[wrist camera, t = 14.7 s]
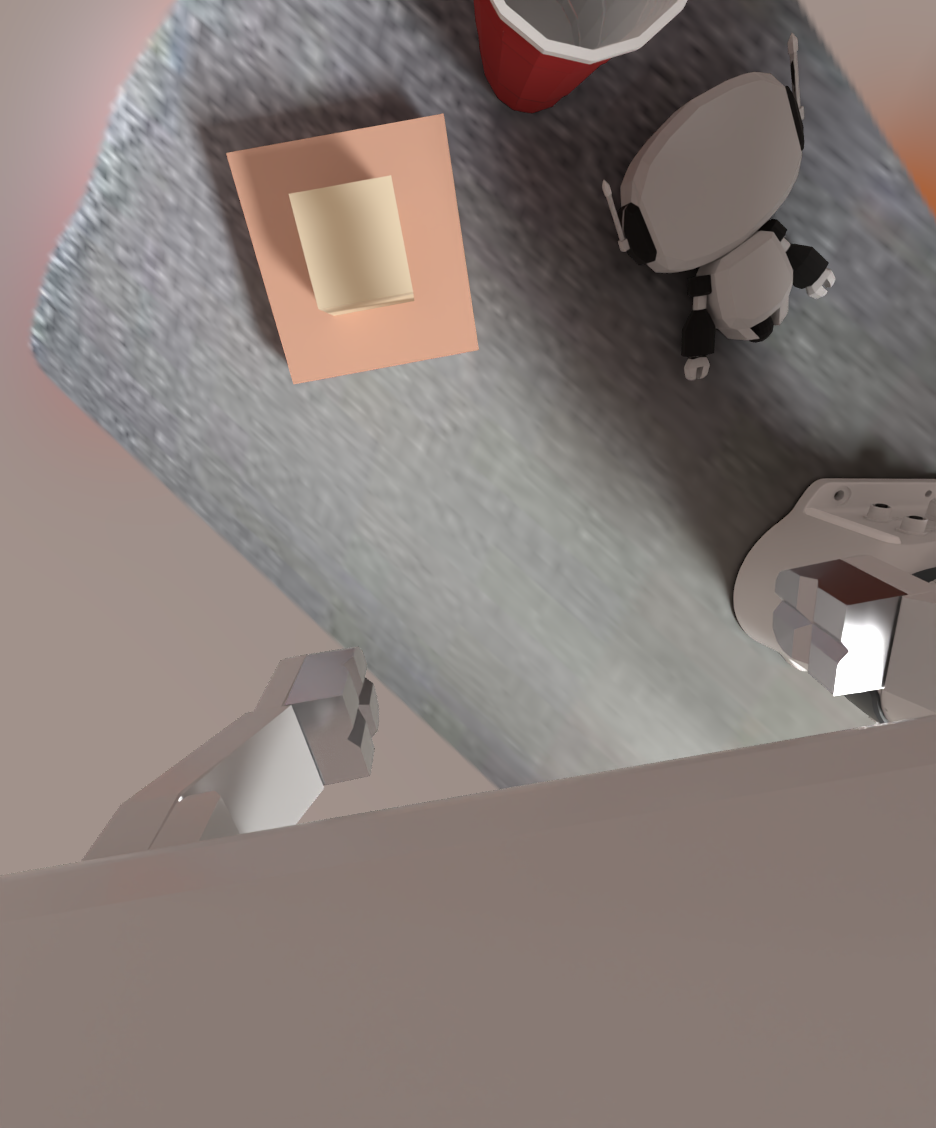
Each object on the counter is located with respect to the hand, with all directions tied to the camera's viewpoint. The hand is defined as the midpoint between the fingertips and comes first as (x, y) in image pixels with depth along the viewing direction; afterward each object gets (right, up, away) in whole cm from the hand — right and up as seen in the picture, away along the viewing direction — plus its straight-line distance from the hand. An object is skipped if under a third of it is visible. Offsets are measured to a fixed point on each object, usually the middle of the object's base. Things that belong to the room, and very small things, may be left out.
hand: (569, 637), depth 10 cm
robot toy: (+14, +24, +25) cm, 37 cm away
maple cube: (-8, +19, +20) cm, 29 cm away
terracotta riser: (-9, +21, +23) cm, 33 cm away
